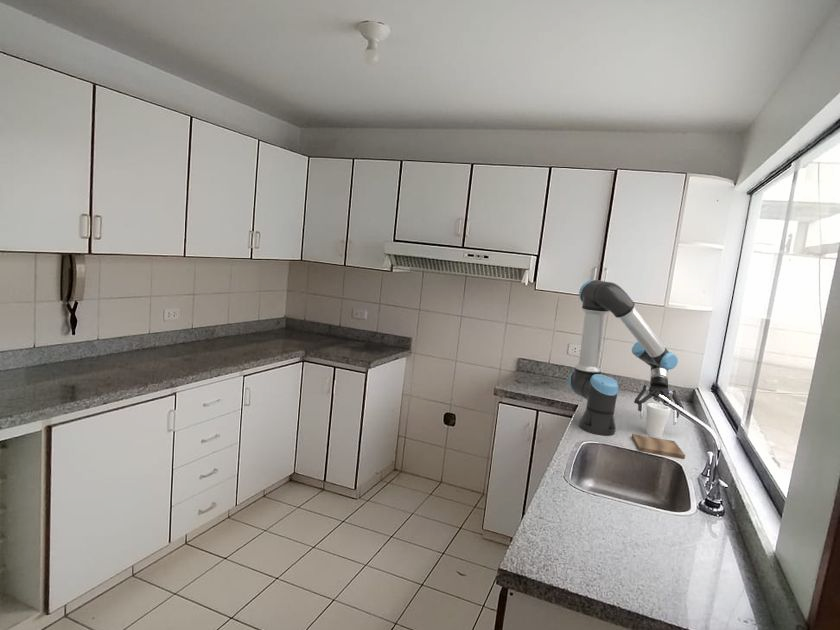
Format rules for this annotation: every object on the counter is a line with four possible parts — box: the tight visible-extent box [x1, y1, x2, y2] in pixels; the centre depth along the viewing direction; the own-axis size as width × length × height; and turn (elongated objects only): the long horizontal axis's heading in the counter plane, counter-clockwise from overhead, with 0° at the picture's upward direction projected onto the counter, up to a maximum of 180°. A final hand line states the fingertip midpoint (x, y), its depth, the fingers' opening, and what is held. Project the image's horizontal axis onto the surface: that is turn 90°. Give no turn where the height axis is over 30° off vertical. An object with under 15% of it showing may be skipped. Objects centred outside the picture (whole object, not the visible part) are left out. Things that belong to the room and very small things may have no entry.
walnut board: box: [631, 433, 686, 460], centre depth 212 cm, size 17×16×2 cm
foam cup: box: [645, 402, 671, 439], centre depth 227 cm, size 10×9×13 cm
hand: (658, 420), depth 227 cm, fingers open, 13 cm apart
